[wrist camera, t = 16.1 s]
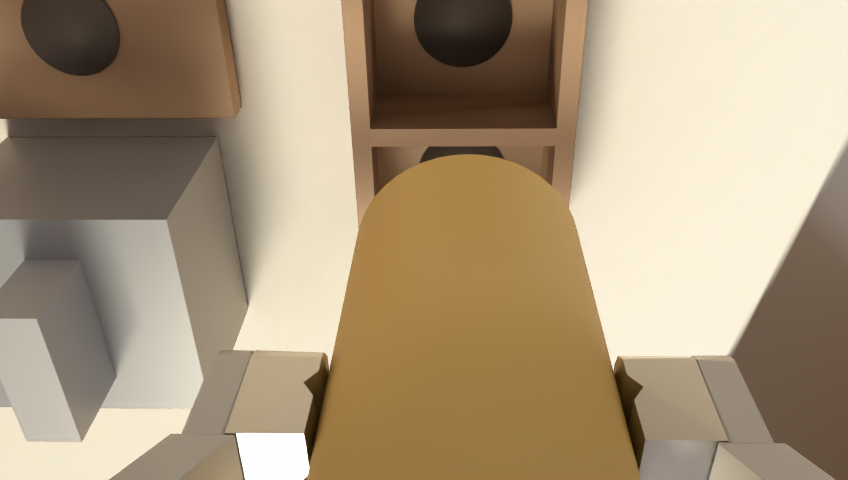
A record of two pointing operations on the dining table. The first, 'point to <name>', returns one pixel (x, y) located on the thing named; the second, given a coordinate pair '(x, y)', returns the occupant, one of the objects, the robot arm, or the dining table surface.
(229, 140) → the dining table surface
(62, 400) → the housing
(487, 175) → the peg
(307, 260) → the dining table surface
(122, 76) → the board
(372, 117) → the open brown box
